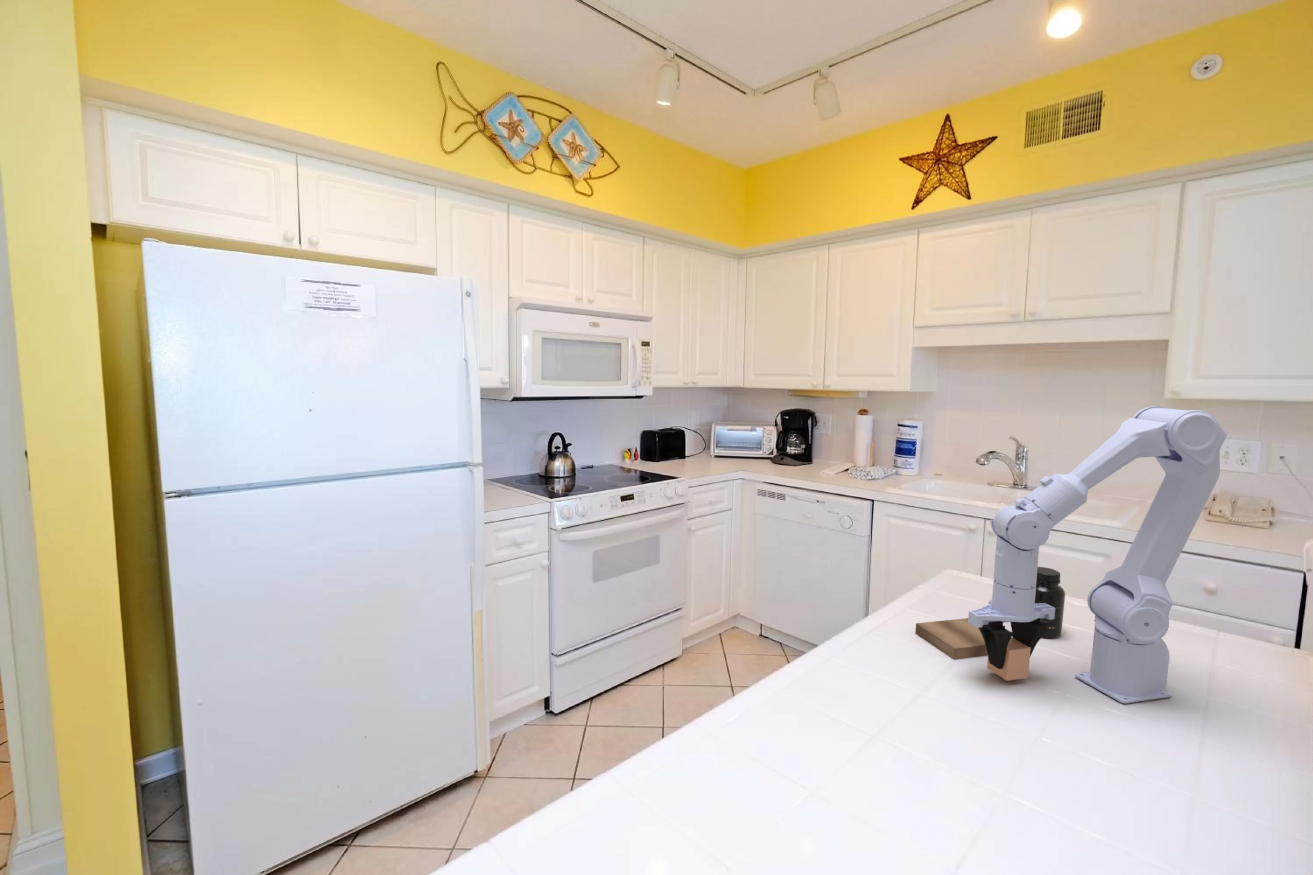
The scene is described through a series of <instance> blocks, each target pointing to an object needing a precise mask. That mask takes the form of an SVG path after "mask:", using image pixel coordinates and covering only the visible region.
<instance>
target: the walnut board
mask: <svg viewBox="0 0 1313 875" xmlns="http://www.w3.org/2000/svg"><path fill="white" fill-rule="evenodd" d="M915 635H916V636H918V637H920V638H921V639H923V640H924V641H926V642H927V643H928V644H930V645H932V646H933V647H934V648H936V649H938V650H939V651H940V652H942V653H943V654H944V655H946V656H948V657H949V658H950V659H952V660H962V659H963V660H964V659H971V658H979V657H980V658H981V657H988V653H987V649H986V645H985V642H984V639H983V636H982V634H981V632H980V630H979V628H977V627H975V626H973V625H972V624H970V623H968V617H966V618H956V619H947V620H946V619H945V620H938V621H937V620H936V621H935V620H934V621H926V622H919V623H918V622H917V623H915Z"/></svg>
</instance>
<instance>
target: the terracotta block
mask: <svg viewBox="0 0 1313 875" xmlns="http://www.w3.org/2000/svg"><path fill="white" fill-rule="evenodd" d="M1030 650H1031V648H1030V647H1028V646H1026V645H1024V644H1023V643H1021V642H1019V641H1017V640H1015V639H1014V638H1013V637H1011V639H1010V641H1009V644H1008V646H1007V650H1006V656H1005V663H1004V666H1003V669H998V668H996V667H995V666H993V665H992V664H990V663H989V658H988V657H987V664H986V669H988V670H990V672H993V673H994V674H996V676H999V677H1000V678H1002V679H1003V680H1005V681H1014V680H1022V679H1029V674H1030V673H1029V672H1030V671H1029V670H1030V663H1031V662H1030V659H1031V656H1030Z"/></svg>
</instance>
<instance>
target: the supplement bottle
mask: <svg viewBox="0 0 1313 875" xmlns="http://www.w3.org/2000/svg"><path fill="white" fill-rule="evenodd" d="M1060 584H1061V572H1060V571H1058V570H1055V569H1053V568H1049V567H1044V566H1043V567H1042V566H1038V568H1037V580H1036V592H1035V604H1041V603H1045V604H1048V605H1050V606H1052V607H1054V608H1055V617H1054V619H1052V620H1049V619H1046V618H1042V619H1040V622H1042V623H1044V624H1046V625H1047V626H1048V628H1047V632H1046V633H1045V634H1044V635H1043V636H1042V637H1041V639H1057V638H1059V637H1060V636H1061V635H1062V631H1063V623H1064V611H1065V601H1066V599H1065V598H1066V591H1065V589H1064V588H1063V587H1062V586H1060Z"/></svg>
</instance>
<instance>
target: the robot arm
mask: <svg viewBox="0 0 1313 875" xmlns="http://www.w3.org/2000/svg"><path fill="white" fill-rule="evenodd" d="M1227 436H1228V435H1227V433H1226V431H1225V430H1224V428H1223V427H1222V426H1221V424H1220V422H1219V421H1218V420H1217V418H1216V417H1215V416H1214V415H1212V414H1211V413H1210V412H1208V411H1204V410H1199V409H1192V410H1191V409H1190V410H1188V409H1178V408H1166V407H1162V406H1157V405H1156V406H1148V407H1144V408H1142V409H1140V410H1138V411H1137V412H1136V413H1135V414H1134V415H1133V417H1130V418H1128V419H1126V420H1125V421H1123V422H1122V423H1121V425H1120V427H1119V428H1118V430H1117V431H1116V432H1115V433H1114V434H1113V435H1112V436H1111V437H1109V438H1108V439H1107V440H1106V441H1105V442H1104V443H1102V444H1101V445H1100V446H1099V447H1098V448H1097V449H1096V450H1094V451H1093V452H1092V453H1091V454H1090V455H1088V457H1086V458H1085V459H1083V461H1082V462H1080V463H1079V464H1078V465H1077V466H1076V467H1075V468H1074V469H1072V470H1071V471H1070V472H1068V473H1054V474H1052V475H1051V476H1048V475H1046V476H1044V477H1042V478H1041V479H1040V480H1039V482H1040V483H1041V484H1040V485H1038V486H1037V487H1035V488H1034V489H1033V490H1032V491H1030V492H1028V493H1027V494H1026V495H1025V496H1023V497H1022V498H1021V497H1018V498H1017V499H1016V500H1014V503H1015V505H1010V506H1009V505H1005V506H1004V507H1002V508H1000V509H999V510H998V511H997V512H996V513H995V514H994V518H993V519H991V520H990V523H989V524H990V528H991V530H992V532H993V533H994V534H995V536H996V544H995V555H994V565H993V566H994V567H993V584H992V594H991V599H989V600H988V604H987V605H985V606H982V607H980V608H977V609H974V610H968V617H967V618H968V623H970V624H972V625H973V626H975V627H977V628H979V630H980V632H981V634H982V636H983V639H984V642H985V645H986V649H987V653H988V656H987V659H988V658H989V663H990V664H992V665H993V666H995V667H996V668H998V669H1003V666H1004V663H1005V656H1006V650H1007V646H1008V644H1009V641H1010V639H1011V637H1012V638H1014V639H1015V640H1017V641H1019V642H1021V643H1023V644H1024V645H1026V646H1028V647H1030V648H1031V650H1030V657H1031V656H1032V654H1033V651H1034V650H1035V648H1036V645H1038V642H1040V640H1041V639H1042V638H1041V637H1042V636H1043V635H1044V634H1045V633H1046V632H1047V628H1048V626H1047V625H1046V624H1044V623H1042V622H1040V619H1042V618H1046V619H1049V620H1052V619H1054V617H1055V608H1054V607H1052V606H1050V605H1048V604H1045V603H1041V604H1035V592H1036V580H1037V568H1038V567H1039V566H1038V565H1039V553H1040V546H1044V545H1045V544H1046V543H1047V541H1048V540H1049V538H1050V533H1051V530H1052V529H1053V528H1055V526H1056V525H1057V524H1059V523H1060V522H1062V521H1063V520H1065V519H1066V518H1067V517H1069V516H1070V515H1071V514H1072V513H1074V512H1075V511H1076V510H1078V509H1079V508H1080V507H1082V506H1083V505H1084V504H1086V503H1087V501H1088V493H1089V490H1091V489H1092V488H1093V487H1095V486H1096V485H1099V483H1102V481H1105V479H1107V478H1108V477H1110V476H1112V475H1113V474H1114V473H1117V472H1118V471H1119V470H1121V469H1122V468H1124V467H1126V466H1127V465H1128V464H1130V463H1131V462H1133V461H1134V460H1136V459H1139V458H1153V457H1154V458H1155V459H1156V460H1157V462H1158V464H1159V465H1160V467H1161V469H1163V471H1164V474H1165V476H1164V478H1163V480H1162V481H1161V484H1160V486H1159V488H1158V489H1157V492H1156V494H1155V496H1154V498H1153V500H1152V502H1151V504H1150V506H1149V509H1148V511H1147V512H1146V515H1145V516H1144V519H1143V520H1142V522H1141V525H1140V527H1139V528H1138V531H1137V533H1136V535H1135V537H1134V539H1133V541H1132V543H1131V545H1130V547H1129V550H1128V552H1127V553H1126V556H1125V558H1124V560H1123V561H1122V564H1121V565H1120V566H1118V567H1116V568H1113V569H1111V570H1109V571H1106V572H1105V574H1104V577H1103V578H1102V580H1101V581H1100V582H1099V583H1097V584H1096V585H1095V586H1093V587H1092V589H1091V590H1090V591H1089V592H1088V594H1087V598H1086V599H1087V600H1086V601H1087V605H1088V608H1089V610H1090V612H1091V613H1092V614H1093V615H1094V628H1093V629H1094V630H1093V640H1092V649H1091V651H1092V652H1091V660H1090V669H1089V671H1088V672H1087V671H1085V672H1077V673H1075V678H1077V679H1078V680H1080V681H1082V682H1083V683H1085V684H1087V685H1089V686H1090V687H1092V688H1094V689H1095V690H1097V691H1100V692H1102V694H1103V693H1104V694H1105V695H1107V696H1109V697H1111V699H1114V700H1116V701H1118V702H1119V703H1120V704H1121V703H1122V704H1130V703H1137V702H1145V701H1151V700H1157V699H1158V700H1159V699H1164V698H1165V699H1166V698H1171V697H1172V692H1170V691H1168V690H1166V688H1167V680H1168V674H1169V664H1170V651H1169V648H1168V645H1167V643H1166V642H1165V641H1164V640H1163V638H1164V637H1165V636H1166V634H1167V633H1168V631H1169V628H1170V619H1169V618H1170V617H1169V615H1170V611H1171V609H1172V607H1173V605H1174V603H1173V600H1172V598H1171V595H1170V593H1169V590H1168V588H1167V585H1166V583H1167V581H1168V579H1169V578H1170V576H1171V574H1172V572H1173V570H1174V567H1175V566H1176V563H1178V562H1177V561H1178V559H1179V558H1180V556H1181V553H1182V552H1183V550H1184V548H1185V546H1186V544H1187V541H1188V540H1189V538H1190V536H1191V534H1192V532H1193V530H1194V528H1195V525H1196V524H1197V521H1198V520H1199V518H1200V515H1201V513H1202V512H1203V510H1204V508H1205V506H1206V504H1207V502H1208V500H1209V498H1210V496H1211V494H1212V492H1213V490H1214V488H1215V486H1216V484H1217V482H1218V480H1219V477H1220V473H1221V459H1220V458H1221V456H1220V455H1221V453H1220V452H1221V448H1222V446H1223V444H1224V442H1225V441H1226V438H1227ZM1004 623H1010V627H1011V630H1009V629H1007V628H1006V626H1005V625H1004Z"/></svg>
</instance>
